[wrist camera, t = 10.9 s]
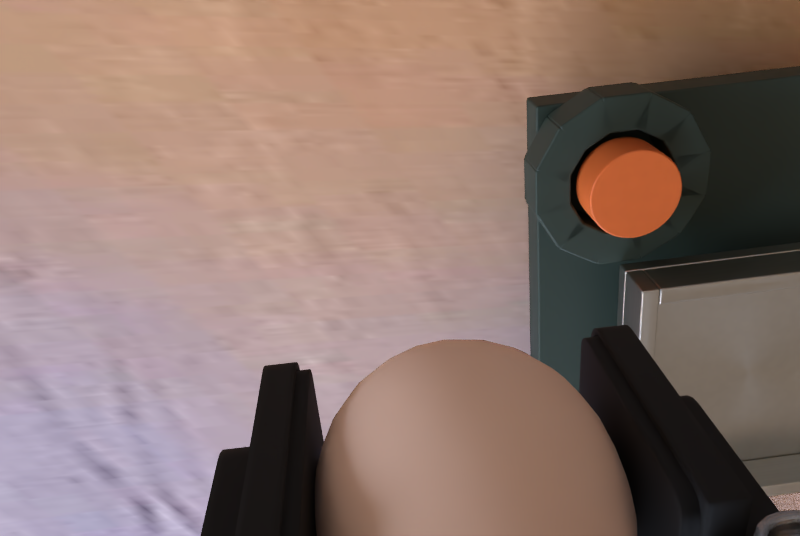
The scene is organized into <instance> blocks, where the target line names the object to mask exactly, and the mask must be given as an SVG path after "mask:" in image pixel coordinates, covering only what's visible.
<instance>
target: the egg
mask: <svg viewBox="0 0 800 536" xmlns="http://www.w3.org/2000/svg"><path fill="white" fill-rule="evenodd" d="M315 523H316V533H317V536H637V519H636V512H635V507H634V503H633V498H632V494H631V489H630V486H629V483H628V479H627V476H626V473H625V471H624V468H623V466H622V463H621V461H620V458H619V455H618V453H617V450H616V448H615V446H614V444H613V442H612V440H611V438H610V436H609V435H608V433H607V431H606V429H605V427H604V425H603V423H602V422H601V420H600V418H599V416H598V415H597V414H596V413H595V411H594V410H593V409H592V408H591V406H590V405H589V404H588V403H587V402H586V400H585V399H584V398H583V397H582V395H581V394H580V393H579V392H578V391H577V390H576V389H575V388H574V387H573V386H572V385H571V384H570V383H569V382H568V381H567V380H566V379H565V378H564V377H563V376H562V375H560V374H559V373H558V372H556V371H555V370H554V369H552V368H551V367H549V366H547V365H546V364H544V363H542V362H540V361H539V360H537V359H535V358H533V357H531V356H530V355H528V354H526V353H524V352H522V351H520V350H518V349H515V348H513V347H509V346H505V345H501V344H497V343H493V342H489V341H485V340H441V341H436V342H432V343H428V344H423V345H419V346H415V347H413V348H411V349H409V350H407V351H405V352H403V353H401V354H399V355H397V356H394V357H392V358H390V359H389V360H388V361H386V362H385V363H383V364H382V365H381V366H380V367H378V368H377V369H376V370H375V371H373V372H372V373H371V374H370V375H368V376H367V377H366V378H365V379H363V380H362V381H361V382H359V384H358V385H357V386H356V388H355V389H354V390H353V392H352V393H351V394H350V396H349V397H348V399H347V400H346V401H345V403H344V404H343V406H342V407H341V408H340V410H339V411H338V413H337V414H336V416H335V417H334V419H333V421H332V424H331V426H330V429H329V431H328V433H327V436H326V438H325V441H324V443H323V446H322V449H321V453H320V457H319V461H318V464H317V468H316V477H315Z"/></svg>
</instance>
